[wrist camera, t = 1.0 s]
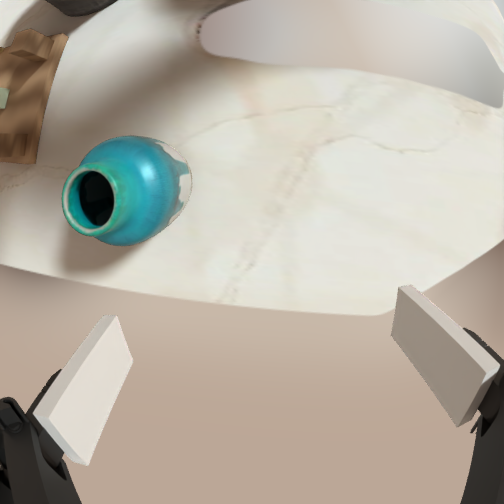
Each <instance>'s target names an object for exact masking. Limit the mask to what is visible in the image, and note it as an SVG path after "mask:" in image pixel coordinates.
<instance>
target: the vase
mask: <svg viewBox="0 0 504 504" xmlns="http://www.w3.org/2000/svg"><path fill="white" fill-rule="evenodd" d="M191 189H192V175H191V171H190V168H189V166H188V163H187V161H186V160H185V159H184V157H183V156H182V155H181V154H180V153H179V152H178V151H177V150H176V149H174V148H173V147H172V146H170V145H168V144H166V143H164V142H162V141H159V140H156V139H152V138H148V137H141V136H121V137H116V138H112V139H108V140H106V141H104V142H102V143H100V144H99V145H97V146H96V147H94V148H93V149H92V150H91V151H90V152H89V153H88V154H87V155H86V157H85V158H84V159H83V160H82V162H81V164H80V166H79V167H78V168H76V169H75V170H74V171H73V172H72V173H71V174H70V176H69V177H68V178H67V180H66V182H65V185H64V187H63V192H62V207H63V212H64V215H65V217H66V219H67V221H68V223H69V224H70V225H71V226H72V228H74V229H75V230H76V231H77V232H79V233H81V234H83V235H86V236H93V237H95V238H97V239H98V240H100V241H102V242H104V243H107V244H110V245H115V246H129V245H134V244H137V243H140V242H143V241H145V240H147V239H149V238H151V237H153V236H155V235H157V234H158V233H159V232H161V231H162V230H164V229H165V228H166V227H167V226H169V225H170V224H171V223H172V222H173V221H174V220H175V219H176V218H177V217H178V216H179V215H180V213H181V212H182V210H183V209H184V208H185V206H186V204H187V202H188V200H189V197H190V194H191Z"/></svg>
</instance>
